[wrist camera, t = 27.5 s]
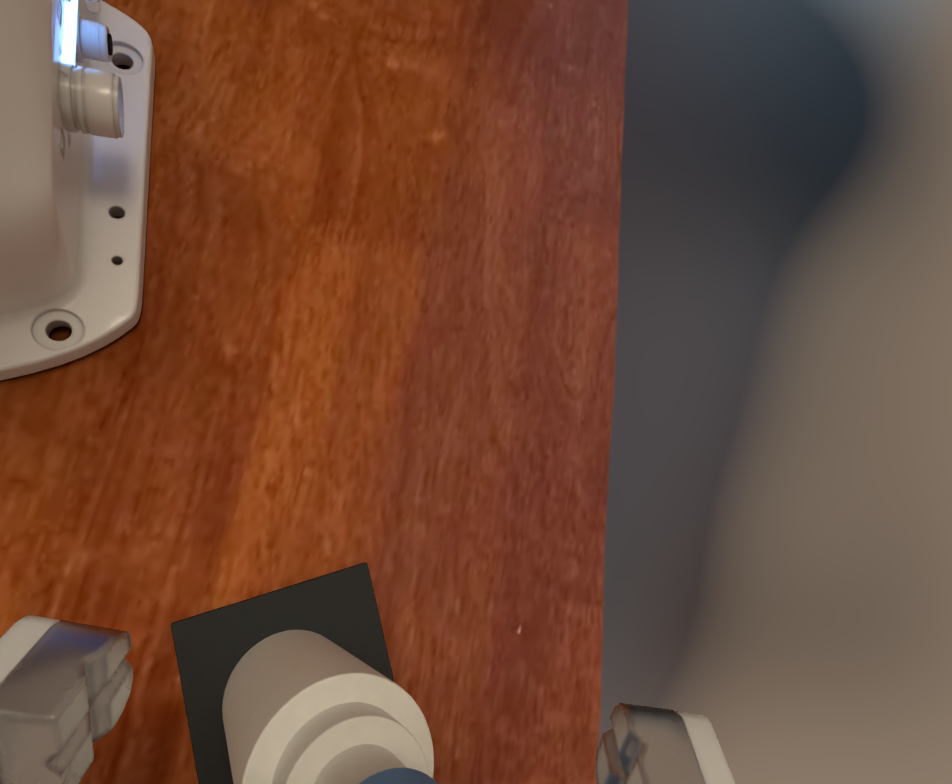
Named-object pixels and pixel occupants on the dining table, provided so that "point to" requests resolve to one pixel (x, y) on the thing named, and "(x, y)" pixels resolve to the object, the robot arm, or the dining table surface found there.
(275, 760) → the bottle
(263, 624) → the mat
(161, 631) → the dining table surface
